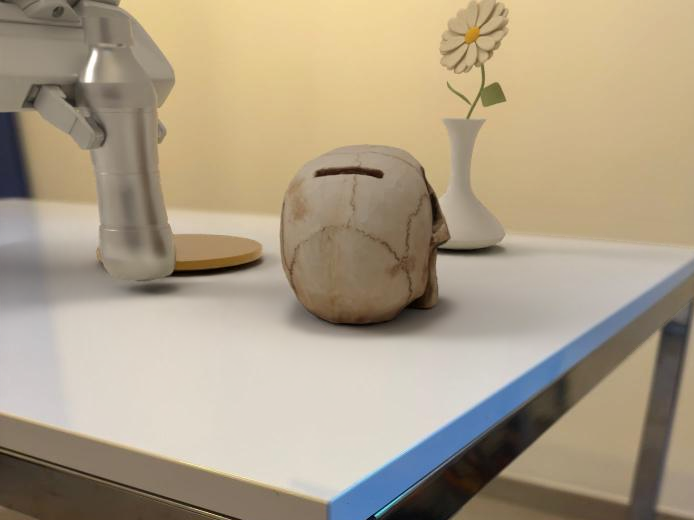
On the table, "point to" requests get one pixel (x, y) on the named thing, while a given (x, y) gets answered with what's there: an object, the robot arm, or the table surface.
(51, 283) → the table surface
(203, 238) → the plate
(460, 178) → the flower in vase
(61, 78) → the robot arm
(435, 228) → the coin bank
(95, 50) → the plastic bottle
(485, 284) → the table surface
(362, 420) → the table surface
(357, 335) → the table surface
